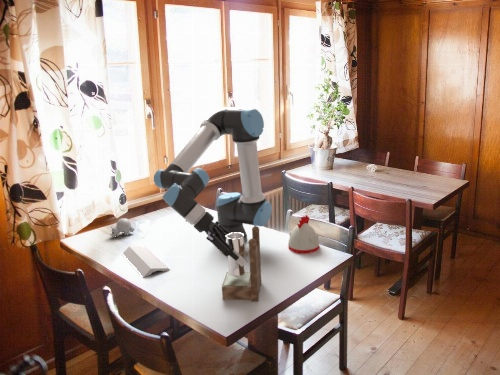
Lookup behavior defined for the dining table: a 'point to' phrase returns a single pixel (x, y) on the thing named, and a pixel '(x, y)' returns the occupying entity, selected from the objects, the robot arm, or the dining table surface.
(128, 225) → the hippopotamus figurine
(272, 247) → the dining table surface
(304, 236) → the kitchen timer
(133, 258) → the crown molding
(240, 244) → the white tumbler cup
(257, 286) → the wooden l-shaped piece
